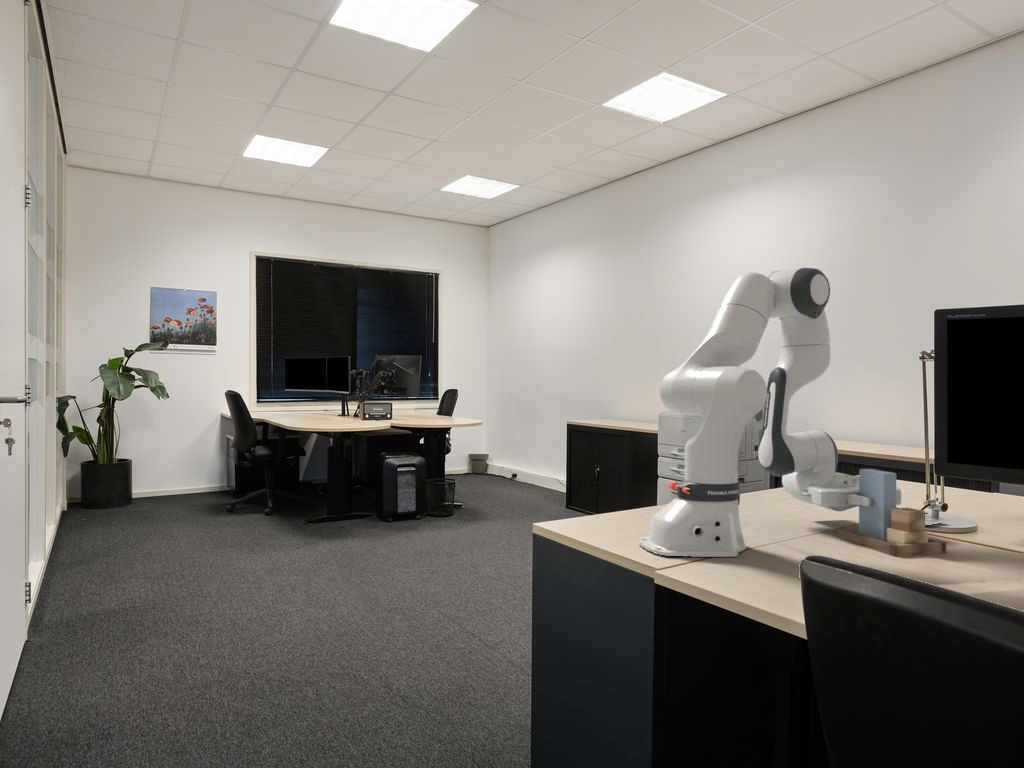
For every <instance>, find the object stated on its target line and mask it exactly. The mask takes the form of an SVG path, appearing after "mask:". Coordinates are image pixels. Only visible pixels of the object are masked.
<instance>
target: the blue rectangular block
mask: <svg viewBox="0 0 1024 768" xmlns="http://www.w3.org/2000/svg"><path fill="white" fill-rule="evenodd" d="M858 475H859V496H864V497H871V498H873V499H874V506H863V505H859V506H858V533H860V534H863V535H867V536H870V537H873V538H876V539H879V540H882V541H887V528H891V509H896V507H897V505H896V487H897V473H896V472H892V471H886V470H880V469H875V468H859V474H858Z"/></svg>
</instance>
